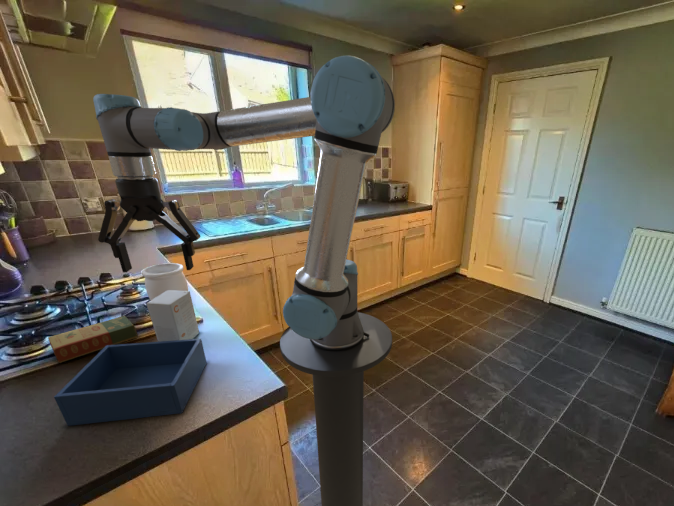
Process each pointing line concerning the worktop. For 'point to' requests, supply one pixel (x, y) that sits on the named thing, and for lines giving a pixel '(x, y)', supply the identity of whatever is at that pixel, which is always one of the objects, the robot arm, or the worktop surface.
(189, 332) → the small box
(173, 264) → the jar
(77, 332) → the carton
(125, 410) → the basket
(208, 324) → the worktop surface
